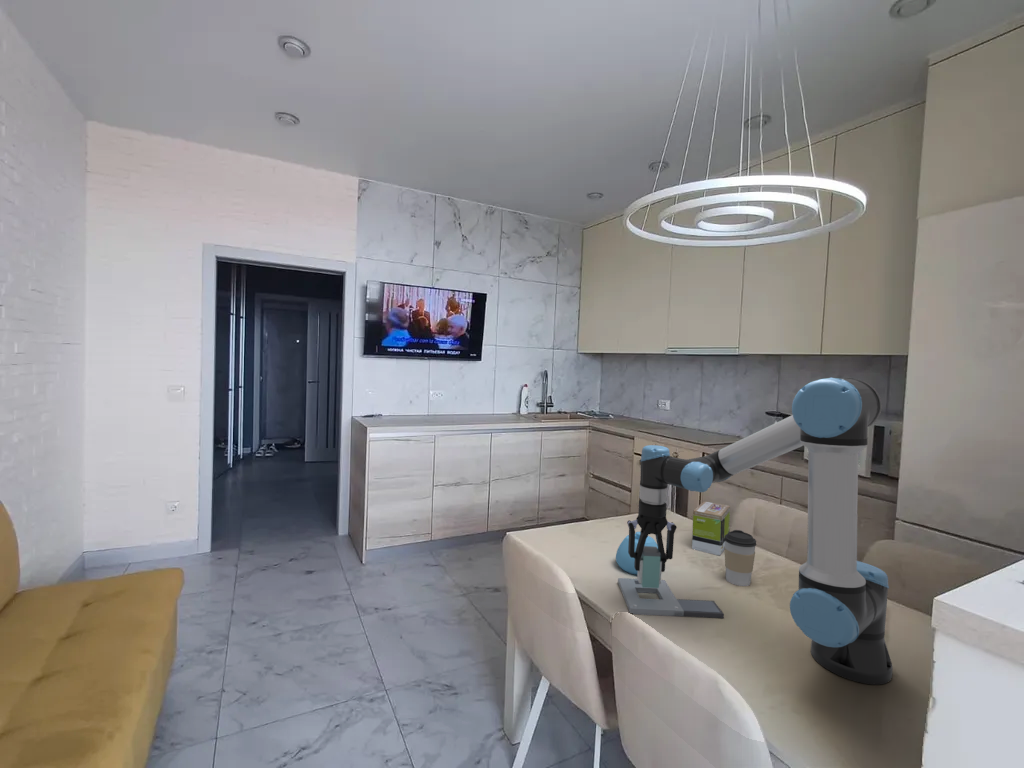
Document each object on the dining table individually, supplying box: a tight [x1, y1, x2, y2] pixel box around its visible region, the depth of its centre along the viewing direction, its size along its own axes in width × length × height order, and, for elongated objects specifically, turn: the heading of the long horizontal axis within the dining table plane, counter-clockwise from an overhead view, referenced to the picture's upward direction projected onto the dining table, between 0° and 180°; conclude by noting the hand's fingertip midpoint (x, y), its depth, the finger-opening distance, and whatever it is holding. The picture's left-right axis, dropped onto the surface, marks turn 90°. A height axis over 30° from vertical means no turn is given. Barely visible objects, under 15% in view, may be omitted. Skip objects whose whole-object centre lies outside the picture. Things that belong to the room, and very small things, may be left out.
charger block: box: [641, 546, 661, 588], centre depth 136 cm, size 4×4×10 cm
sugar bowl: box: [615, 531, 658, 576], centre depth 157 cm, size 15×15×12 cm
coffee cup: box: [724, 529, 757, 587], centre depth 149 cm, size 9×9×15 cm
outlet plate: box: [617, 577, 684, 617], centre depth 136 cm, size 18×14×2 cm
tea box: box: [691, 500, 731, 556], centre depth 177 cm, size 15×10×15 cm
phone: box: [674, 598, 725, 619], centre depth 131 cm, size 7×13×1 cm, turn 88°
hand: (648, 581), depth 136 cm, fingers closed on charger block, 4 cm apart
